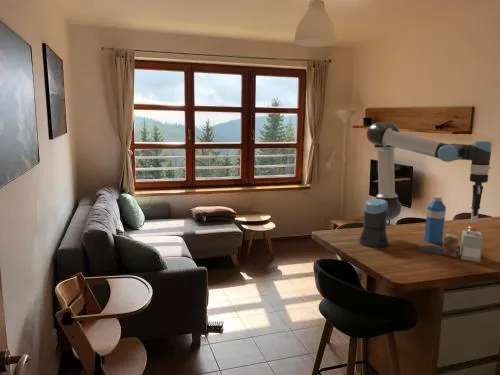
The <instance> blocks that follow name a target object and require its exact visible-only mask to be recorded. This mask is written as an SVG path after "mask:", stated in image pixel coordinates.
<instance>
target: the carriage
mask: <svg viewBox="0 0 500 375" xmlns="http://www.w3.org/2000/svg"><path fill="white" fill-rule="evenodd" d="M458 243H459V238H458V235H456V234H453V233H452V234H451V233H443V240H442V247H443V255H442V256H447V257H455V258H457V257H456V253H457V249H458Z"/></svg>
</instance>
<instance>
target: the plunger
mask: <svg viewBox="0 0 500 375" xmlns="http://www.w3.org/2000/svg"><path fill="white" fill-rule="evenodd" d="M478 230H479V227H478V226H476V225H475V226H474V225H469V226H467V231H468V235H476V236H477V232H479V231H478Z"/></svg>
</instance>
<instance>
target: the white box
mask: <svg viewBox="0 0 500 375" xmlns="http://www.w3.org/2000/svg"><path fill="white" fill-rule="evenodd" d="M460 237H461V238H460V248H459V257H460V258H461V260H464V261H472V262H481V259H482V250H483V242H484V237H483V234H482V232H480V231H477V236H476V235H468V230H465V229H464V230H463V229H462V231H461V236H460Z"/></svg>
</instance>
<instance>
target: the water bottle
mask: <svg viewBox="0 0 500 375" xmlns="http://www.w3.org/2000/svg"><path fill="white" fill-rule="evenodd" d="M442 200H443V199H442V196H438V195H437V196H436V195H435V196H433V199H432V201H431V202H430V203H429V204H428V205H427V209H426V221H425V230H424V231H425V232H424V240H423V241H425V242H426V243H428V244H429V243H430V244H435V245H436V244H439V243H440V244H443V237H444V230H445V220H446V210H447V207H446V205H445V204H444V203H443V201H442Z"/></svg>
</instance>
